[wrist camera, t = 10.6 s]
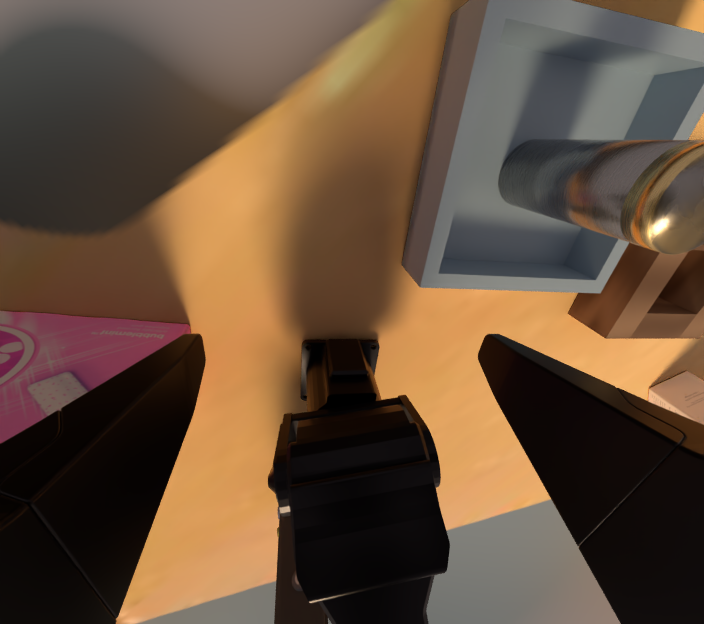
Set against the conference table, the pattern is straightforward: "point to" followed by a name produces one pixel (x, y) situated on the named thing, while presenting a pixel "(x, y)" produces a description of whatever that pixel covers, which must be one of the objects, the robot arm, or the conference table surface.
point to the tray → (538, 134)
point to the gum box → (66, 359)
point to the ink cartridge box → (681, 396)
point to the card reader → (292, 584)
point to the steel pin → (613, 188)
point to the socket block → (648, 297)
